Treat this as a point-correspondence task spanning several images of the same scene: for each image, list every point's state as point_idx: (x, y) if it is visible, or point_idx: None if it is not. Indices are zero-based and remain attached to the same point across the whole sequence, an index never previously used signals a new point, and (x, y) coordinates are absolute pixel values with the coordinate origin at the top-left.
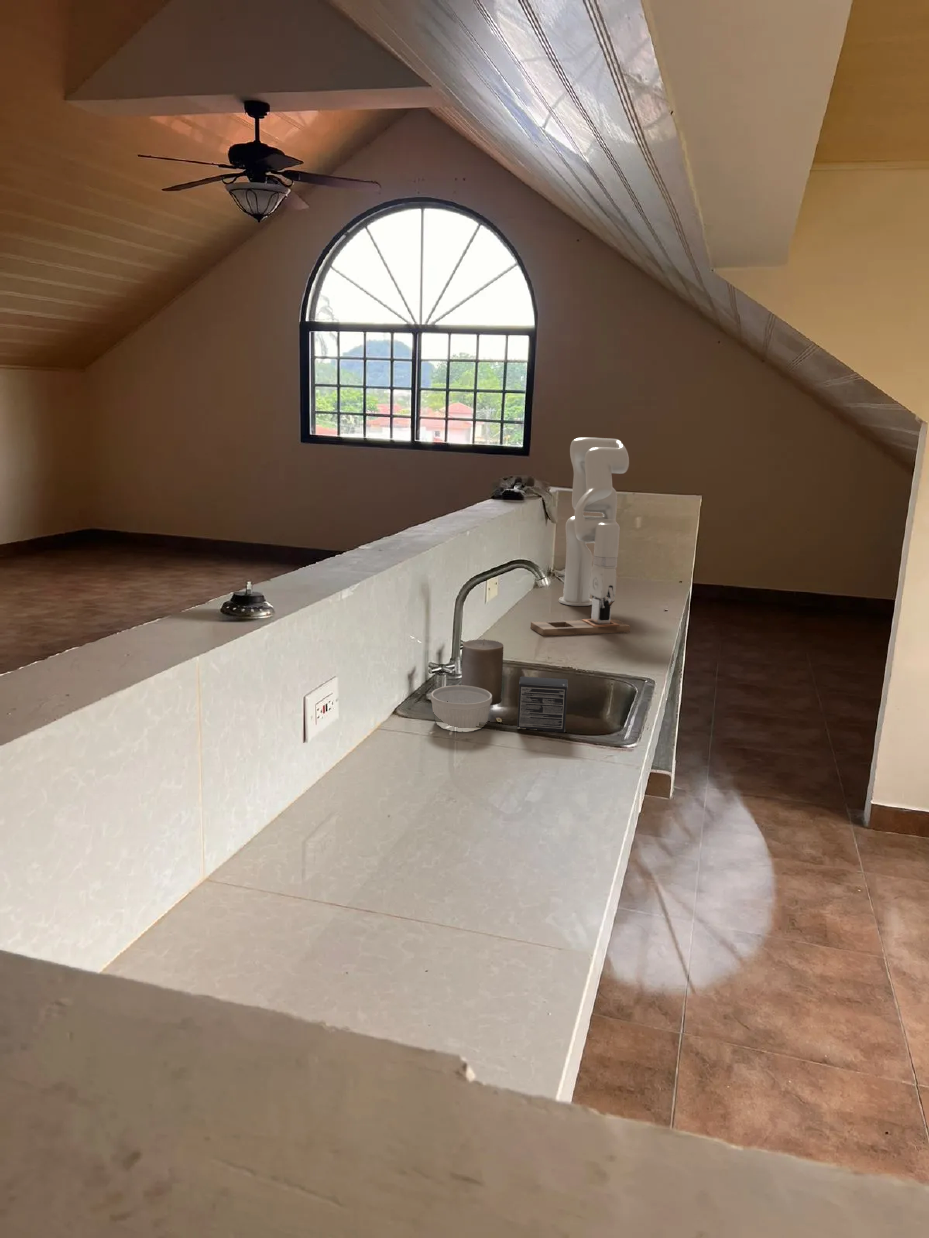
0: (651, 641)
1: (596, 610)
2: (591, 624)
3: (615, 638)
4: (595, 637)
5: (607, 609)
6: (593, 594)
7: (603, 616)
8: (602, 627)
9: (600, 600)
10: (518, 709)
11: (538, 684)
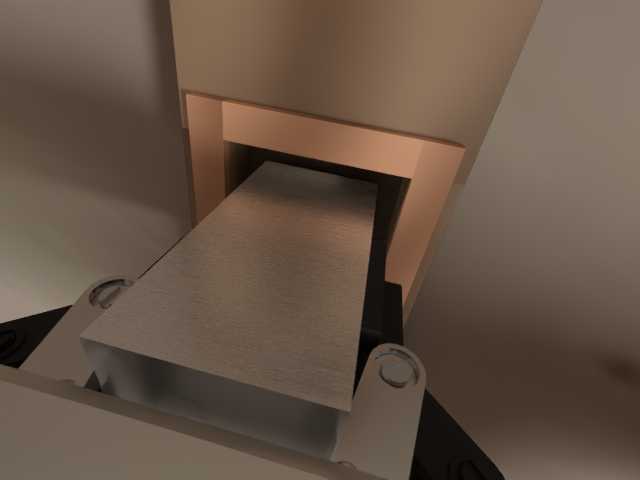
0: (49, 274)
1: (239, 241)
2: (239, 104)
3: (81, 147)
4: (90, 7)
5: None
6: (214, 474)
7: None
8: (187, 164)
9: (102, 363)
10: None
11: None
